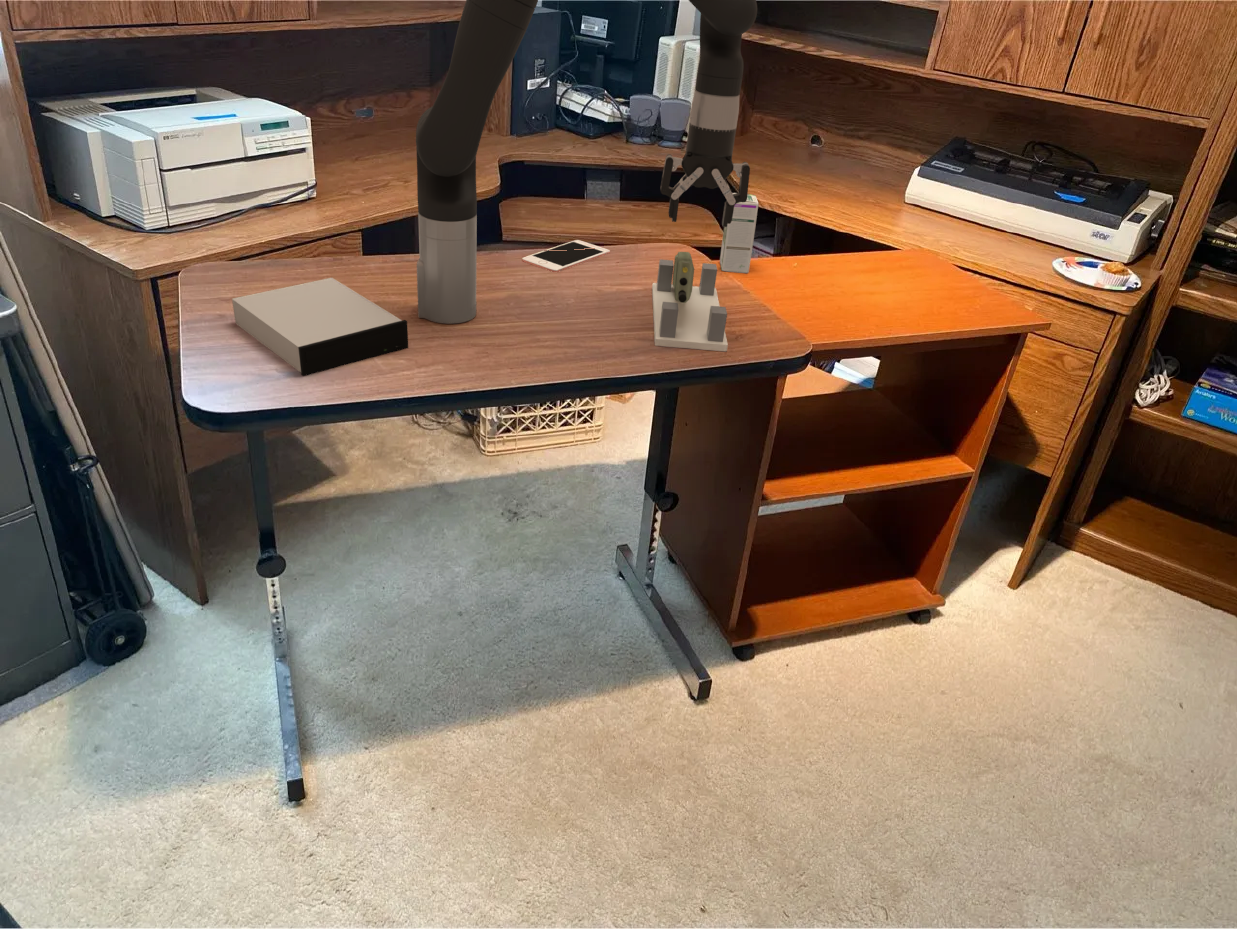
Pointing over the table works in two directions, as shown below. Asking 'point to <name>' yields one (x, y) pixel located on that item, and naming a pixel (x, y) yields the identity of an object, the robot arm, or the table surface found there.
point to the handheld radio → (683, 276)
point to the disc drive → (320, 325)
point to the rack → (688, 312)
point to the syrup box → (739, 237)
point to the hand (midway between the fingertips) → (699, 223)
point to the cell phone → (565, 255)
